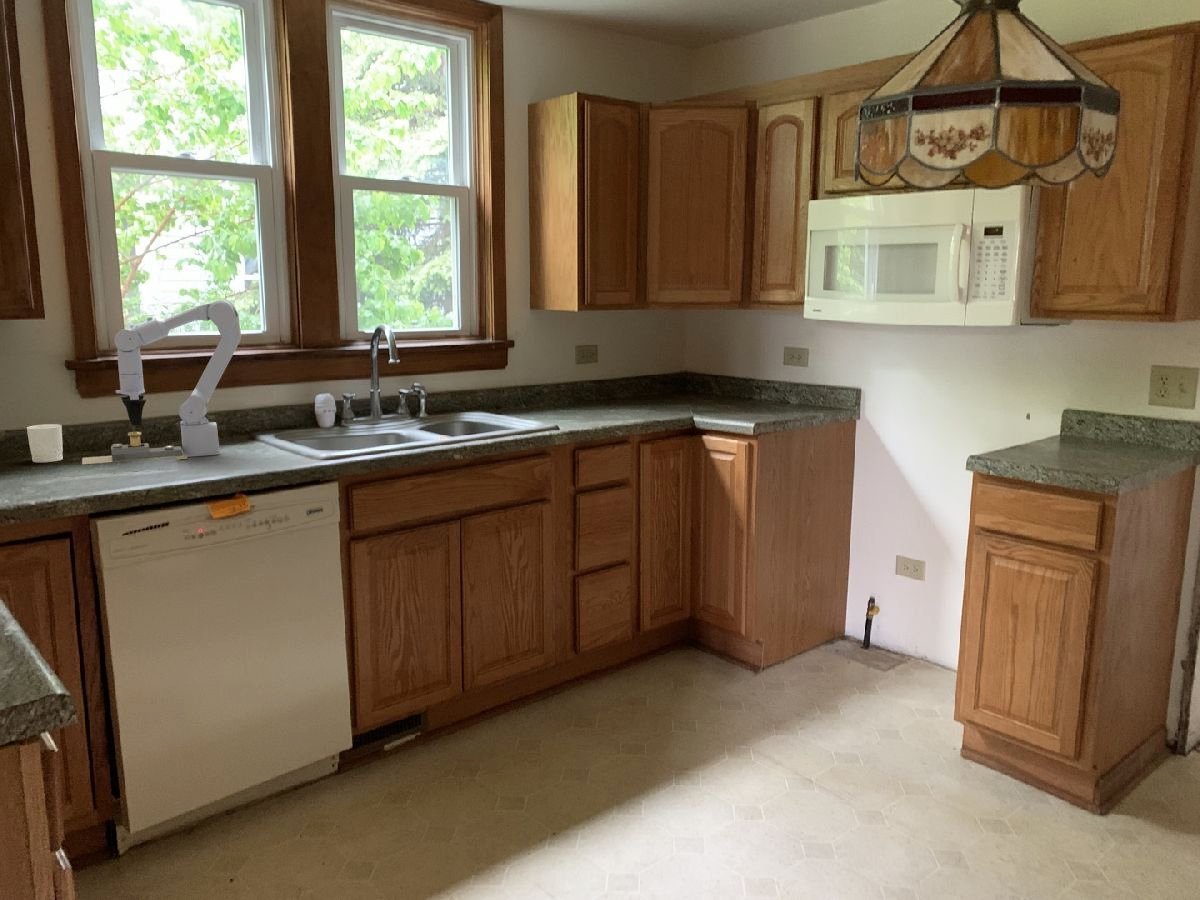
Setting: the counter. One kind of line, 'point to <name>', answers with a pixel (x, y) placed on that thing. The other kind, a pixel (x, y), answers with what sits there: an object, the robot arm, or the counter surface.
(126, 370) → the robot arm
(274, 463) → the counter surface
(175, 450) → the door lock with knob
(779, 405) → the counter surface
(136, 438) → the brass knob
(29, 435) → the white cup
